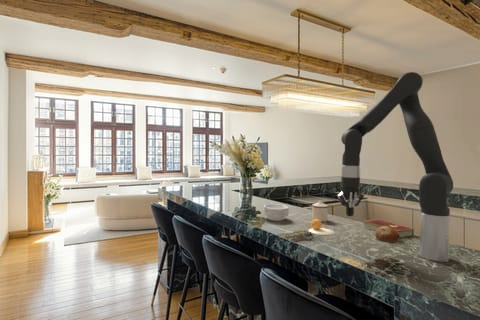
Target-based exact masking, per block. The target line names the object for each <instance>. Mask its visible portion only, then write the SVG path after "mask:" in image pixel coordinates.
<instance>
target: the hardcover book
mask: <svg viewBox="0 0 480 320" xmlns="http://www.w3.org/2000/svg"><path fill="white" fill-rule="evenodd" d="M362 223H363V228H364V227H365V229H367V228H368V229H367V230H370V229H371V231H374V230H375V231H374V232H376V231H377V230H378V229H379V228H380V227H383V226H388V227H391V228H393V229H395V230H396V231H397V232H398V233H399V235H400V238H403V237H404V236H405V237H409V236H410V234H411V236H412V235H413V236H414V234H415V232H414V228H410V227H408V226H404V225H400V224H398V223H397V224H396V223H392V222H388V221H385V220H381V219H370V220H362Z"/></svg>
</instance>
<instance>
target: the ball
mask: <svg viewBox="0 0 480 320" xmlns="http://www.w3.org/2000/svg"><path fill="white" fill-rule="evenodd" d="M310 226H311V227H312V228H313V229H316V230H318V229H320V228H323V227H322V226H323V223H322V222H321V221H320V220H318V219H314V220H313V219H312V221H311V223H310ZM312 228H311V229H312Z"/></svg>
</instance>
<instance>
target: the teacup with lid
mask: <svg viewBox="0 0 480 320" xmlns="http://www.w3.org/2000/svg"><path fill="white" fill-rule="evenodd" d="M311 206H312V207H311V213H312V221H313V220H314V219H318V220H320V221H321V223H322V222H324V223H325V222H327V221H328V208H329V205H328V204H326V203H324V202H323V201H322V200H318V202H316V203H312V205H311Z"/></svg>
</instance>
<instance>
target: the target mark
mask: <svg viewBox="0 0 480 320" xmlns="http://www.w3.org/2000/svg"><path fill="white" fill-rule="evenodd" d="M308 232H309V233H310V232H311V233H310V234H313V235H317V236H334V235H335V234H336V232H335V231H334V230H332V229H330V228H325V227H321V228H320V229H318V230H316V229H313V228H309V229H308Z"/></svg>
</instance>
